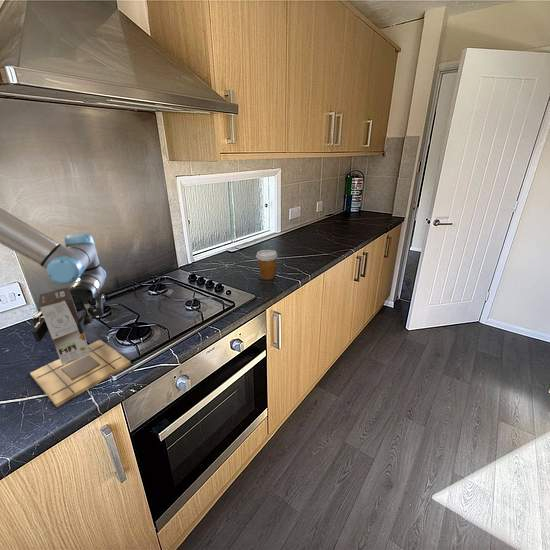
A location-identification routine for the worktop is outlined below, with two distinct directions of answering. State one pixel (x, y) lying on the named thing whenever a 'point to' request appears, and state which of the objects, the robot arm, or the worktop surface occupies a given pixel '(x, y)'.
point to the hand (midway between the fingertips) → (58, 332)
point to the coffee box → (63, 324)
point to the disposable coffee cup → (267, 263)
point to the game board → (79, 372)
